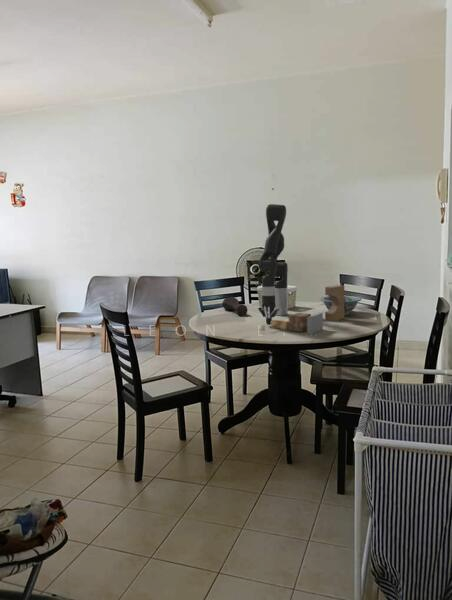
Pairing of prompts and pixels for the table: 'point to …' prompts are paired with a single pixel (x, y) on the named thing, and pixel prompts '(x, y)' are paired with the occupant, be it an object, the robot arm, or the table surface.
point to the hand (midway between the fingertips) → (269, 324)
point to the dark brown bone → (234, 306)
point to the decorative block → (335, 303)
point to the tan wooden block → (279, 324)
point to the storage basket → (291, 295)
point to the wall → (314, 323)
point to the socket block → (298, 322)
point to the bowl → (349, 303)
